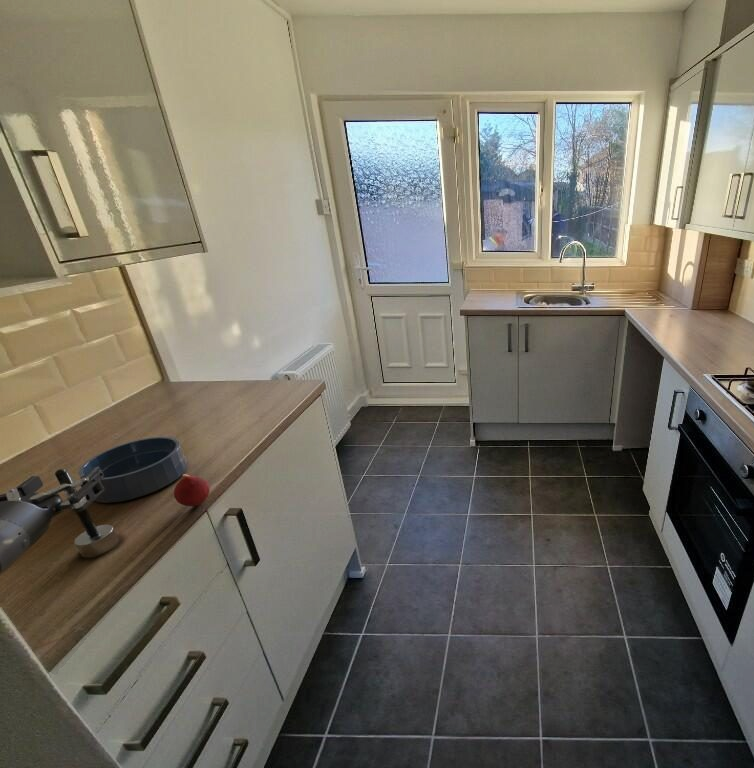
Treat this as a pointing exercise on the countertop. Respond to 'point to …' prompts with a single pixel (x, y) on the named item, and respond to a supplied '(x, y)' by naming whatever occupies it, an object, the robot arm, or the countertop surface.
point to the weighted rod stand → (90, 529)
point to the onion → (191, 490)
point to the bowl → (137, 468)
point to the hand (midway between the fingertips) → (68, 475)
